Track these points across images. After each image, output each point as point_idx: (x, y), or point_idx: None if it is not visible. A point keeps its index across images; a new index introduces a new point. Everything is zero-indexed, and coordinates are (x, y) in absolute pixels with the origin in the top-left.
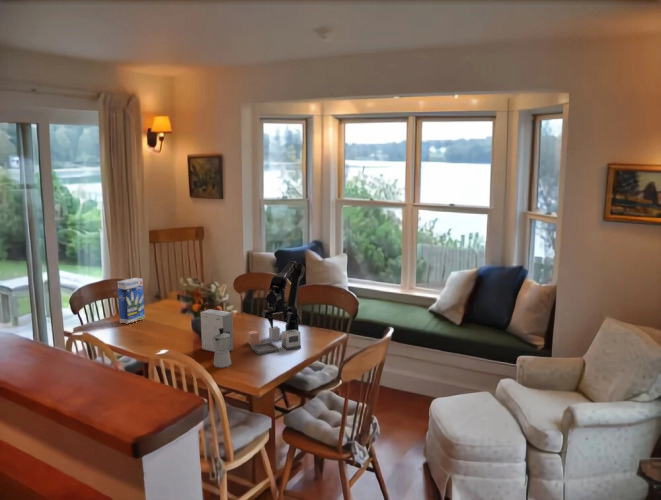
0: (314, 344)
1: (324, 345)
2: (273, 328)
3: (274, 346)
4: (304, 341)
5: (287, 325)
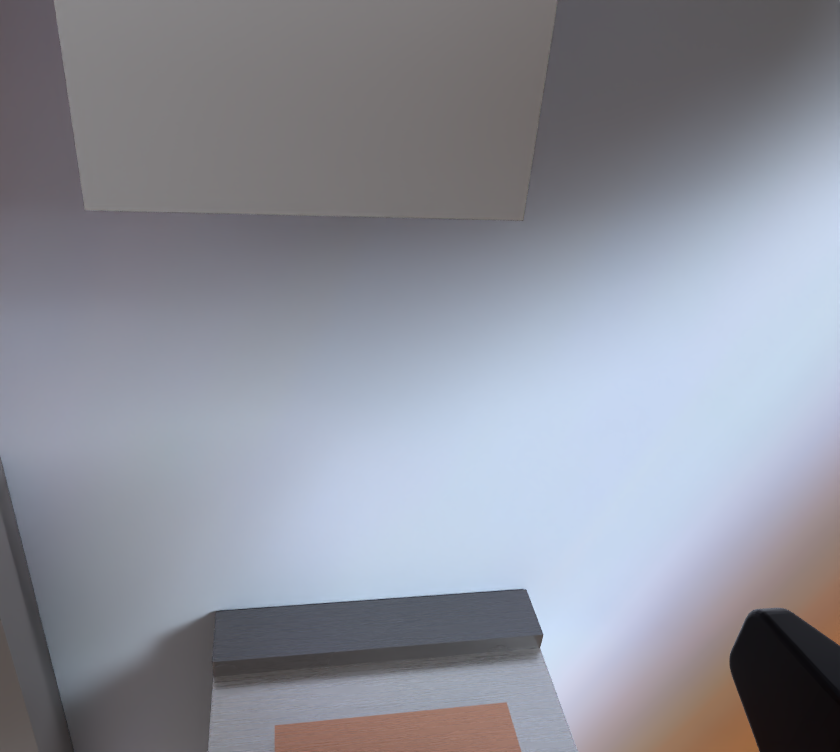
0: None
1: None
2: (227, 55)
3: (3, 741)
4: (764, 514)
5: (758, 635)
